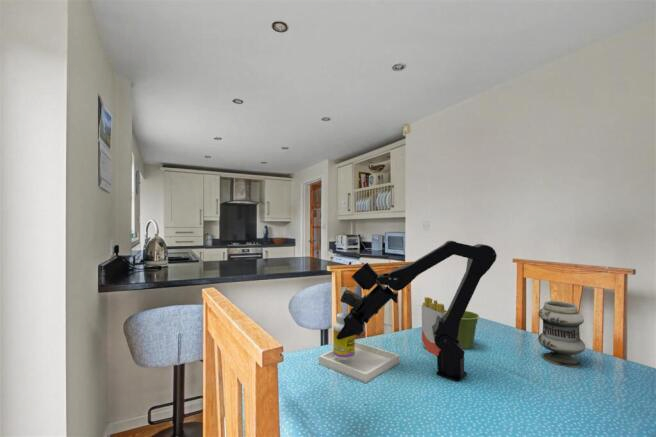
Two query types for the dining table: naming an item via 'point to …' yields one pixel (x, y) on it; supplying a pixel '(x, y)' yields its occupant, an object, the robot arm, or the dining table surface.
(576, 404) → the dining table surface
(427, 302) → the french fries container
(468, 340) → the plant pot
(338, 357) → the supplement bottle
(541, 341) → the apothecary jar
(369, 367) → the tray
